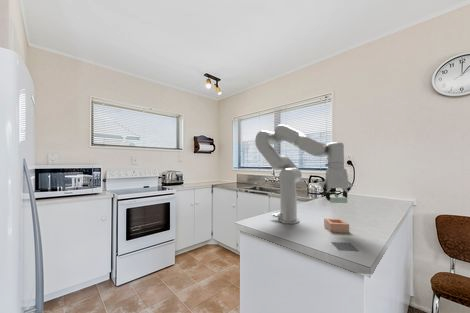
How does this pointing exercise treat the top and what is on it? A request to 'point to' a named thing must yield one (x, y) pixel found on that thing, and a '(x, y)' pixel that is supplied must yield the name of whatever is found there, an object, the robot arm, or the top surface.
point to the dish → (336, 225)
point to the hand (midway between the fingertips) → (336, 199)
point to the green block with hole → (337, 199)
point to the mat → (344, 246)
